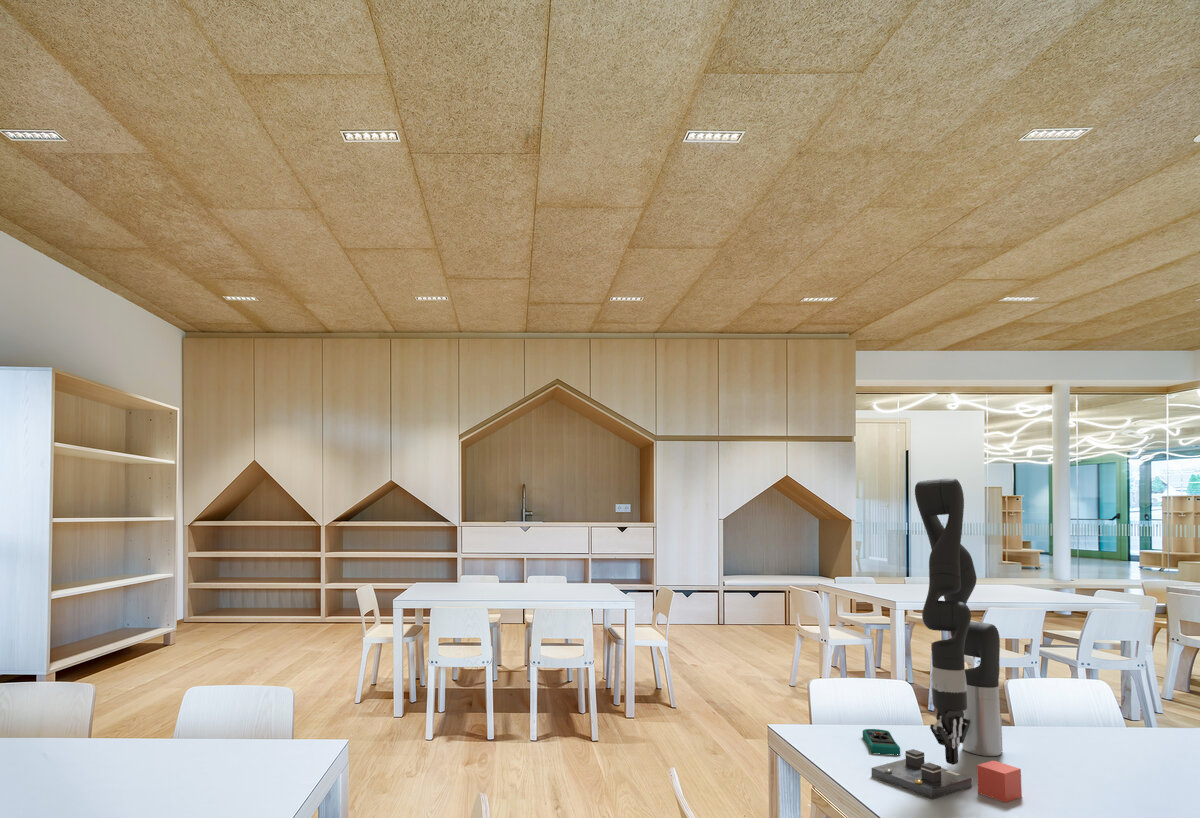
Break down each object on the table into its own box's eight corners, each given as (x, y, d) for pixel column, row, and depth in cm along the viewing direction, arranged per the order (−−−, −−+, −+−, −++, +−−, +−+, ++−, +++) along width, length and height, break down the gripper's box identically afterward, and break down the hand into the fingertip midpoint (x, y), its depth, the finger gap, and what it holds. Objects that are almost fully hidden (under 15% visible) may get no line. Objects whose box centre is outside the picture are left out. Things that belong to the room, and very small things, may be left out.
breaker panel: (911, 765, 191) (910, 754, 191) (972, 786, 178) (971, 775, 178) (871, 776, 183) (871, 765, 183) (932, 799, 170) (931, 787, 170)
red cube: (994, 787, 178) (993, 760, 178) (1021, 796, 172) (1020, 768, 173) (978, 792, 174) (977, 765, 175) (1005, 802, 169) (1004, 773, 169)
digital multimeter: (889, 740, 213) (889, 729, 213) (901, 757, 198) (900, 745, 199) (862, 738, 214) (861, 727, 215) (871, 755, 200) (870, 743, 200)
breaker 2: (929, 775, 178) (929, 762, 179) (941, 780, 176) (941, 766, 176) (921, 778, 177) (920, 764, 177) (933, 782, 174) (933, 768, 174)
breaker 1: (913, 761, 188) (913, 749, 188) (924, 765, 185) (924, 752, 186) (905, 764, 186) (905, 751, 187) (916, 767, 184) (916, 754, 184)
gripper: (951, 680, 189) (953, 753, 187) (917, 687, 182) (920, 763, 180) (980, 686, 183) (983, 763, 181) (947, 694, 176) (950, 773, 174)
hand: (952, 763), depth 180 cm, fingers closed
